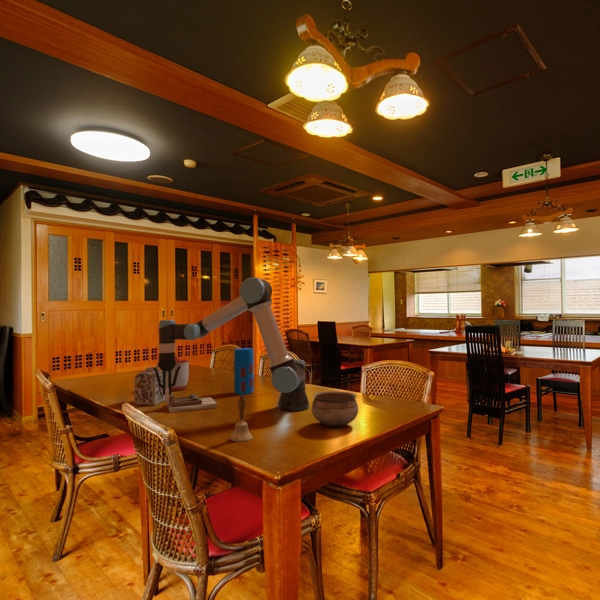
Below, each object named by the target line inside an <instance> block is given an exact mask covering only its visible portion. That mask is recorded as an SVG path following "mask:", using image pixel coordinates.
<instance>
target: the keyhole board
mask: <svg viewBox="0 0 600 600" xmlns="http://www.w3.org/2000/svg"><path fill="white" fill-rule="evenodd" d="M189 396H190V397H191V399H193V401H196V399H198V397H196V396H197V394H195V393H194V394H193V393H192V394H189ZM199 398H200V399H201V400H202V404H194V405H183V406H173V407H171V405H170V402H166V407H167V410H168V412H169V414H171V413H181V412H192V411H200V410H211V409H218V403H217V402H216V400H215V399H213V398H212V397H210V396H209V397H199Z"/></svg>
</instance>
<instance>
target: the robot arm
mask: <svg viewBox="0 0 600 600" xmlns="http://www.w3.org/2000/svg"><path fill="white" fill-rule="evenodd" d="M272 295H273V288H272V285H271V283H270V282H269V281H268V280H266V279H262V278H259V277H248V278H245V279H244V280H243V281H242V282H241V284H240V287H239V297H236V298H235V299H233V300H232V301H230V302H228V303H227V304H225V305H224V306H222V307H220V308H219V309H217V310H215V311H214V312H212V313H210V314H209V315H206V316H205V317H204V318H202V319H201V320H199V321H196V322H195V323H194V322H193V323H176V320H174V319H161V320H159V321H158V363H157V364H156V365H155V366H152V367H153V370H154V371H155V373H156V377H157V381H158V385H159V387H162V388H163V395H165V401H164V402H165V403H167V402H169V394H171V393H172V391H171V387H173V386H175V384H176V380H177V376H178V372H179V370H180V368H181V366H179V365H177V364H176V362H175V356H176V341H177V340H180V341H181V340H183V341H184V340H185V341H195V340H198V339H203V338H205V337H206V336H207V335H208V334H209V333H211V332H212V331H214V330H215V329H217V328H219V327H220V326H223V325H224V324H226V323H228V322H230V321H231V320H232V319H234V318H236V317H239V315H241V314H243V313H244V312H247V311H249V312H251V313H252V314H253V317H254V319H255V322H256V324H257V328H258V330H259V333H260V336H261V339H262V341H263V343H264V347H265V349H266V352H267V355H268V358H269V360H270V364H269V369H270V370H269V371H270V373H271V384H272V386H273V388H274V389H275V390H276V391H278V392H279V393H280V395H279V398H278V401H277V409H279V410H280V411H285V412H286V411H287V412H300V411H301V412H302V411H305V410H308V409H309V408H310V402H309V399H308V395H307V392H306V361H304V360H303V359H295V357H293V356H291V355H290V354H289V352H288V349H287V347H286V344H285V342H284V339H283V336H282V334H281V330H280V328H279V324H278V323H277V322H278V321H277V320H276V318H275V317H276V316H275V314H274V313H273V309H272V303H273V300H272ZM175 366H176V367H175ZM174 367H175V369H176V370H175V374H174V378H173V382H172V384H171V371H172V370H173V368H174ZM158 370H161V371H163V385H162V384H161V381H160V377H159V373H158ZM166 371H168V387H166Z"/></svg>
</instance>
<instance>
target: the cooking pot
mask: <svg viewBox="0 0 600 600" xmlns="http://www.w3.org/2000/svg"><path fill="white" fill-rule="evenodd" d="M313 398H314V399H313V402H312V404H311V413H312V415H313V417H314V418H315V420H317V421H318V422H319V423H320V424H323V425H325V426H326V427H328V428H332V429H341V428H343V427H344V426H346V425H348V424H350V423H351V422H354V420H355V419H356V418H357V417H358V416H357V415H358V413H359V406H358V403H357V399H356V398H357V394H355V393H353V392H347V391H339V390H330V391H329V390H328V391H320V392H316V393H314V394H313Z"/></svg>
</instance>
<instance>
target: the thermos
mask: <svg viewBox="0 0 600 600" xmlns="http://www.w3.org/2000/svg"><path fill="white" fill-rule="evenodd" d="M233 351H234V353H233V355H234V357H233V359H234V360H233V362H234V364H233V368H234V369H233V370H234V372H233V376H234V377H233V384H234V385H233V386H234V387H233V388H234V395H237V394H238V396H240V395H244V396H246V394H248V395H252V394H253V393H254V348H252V347H243V348H242V347H239V348H234V350H233Z"/></svg>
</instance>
